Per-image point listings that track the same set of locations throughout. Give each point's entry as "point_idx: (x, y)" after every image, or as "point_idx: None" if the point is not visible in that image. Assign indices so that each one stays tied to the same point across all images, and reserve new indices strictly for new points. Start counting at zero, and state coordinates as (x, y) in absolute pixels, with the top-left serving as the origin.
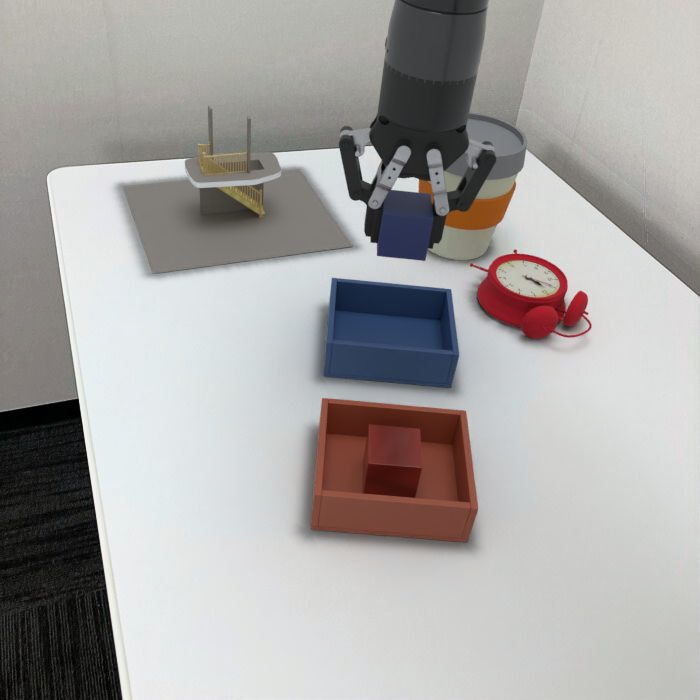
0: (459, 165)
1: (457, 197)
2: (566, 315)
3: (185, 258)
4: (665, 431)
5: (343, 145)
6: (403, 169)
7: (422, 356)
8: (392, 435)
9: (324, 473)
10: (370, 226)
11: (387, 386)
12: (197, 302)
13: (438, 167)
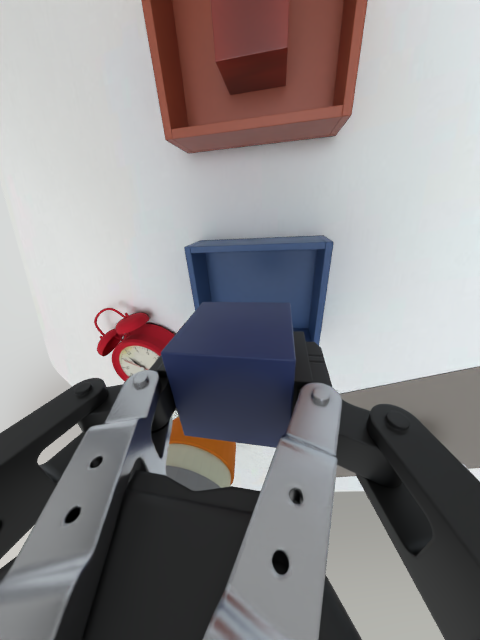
0: (188, 483)
1: (94, 414)
2: (114, 333)
3: (449, 385)
4: (29, 217)
5: None
6: (231, 542)
7: (222, 244)
8: (252, 26)
9: (336, 35)
10: (310, 355)
11: (258, 232)
12: (449, 328)
13: (36, 561)
